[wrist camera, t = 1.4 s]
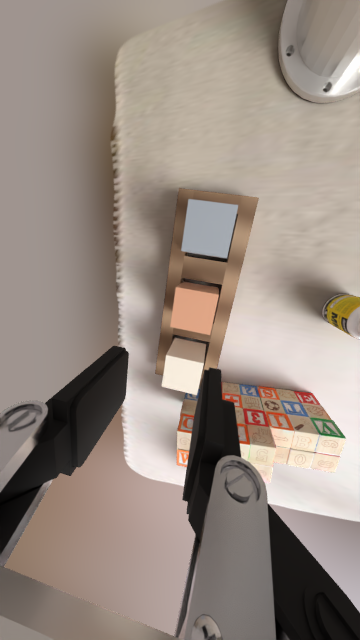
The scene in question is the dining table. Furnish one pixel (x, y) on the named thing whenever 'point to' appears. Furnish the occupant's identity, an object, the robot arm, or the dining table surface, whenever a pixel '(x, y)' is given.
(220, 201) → the button board
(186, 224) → the button slate
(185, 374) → the button cream
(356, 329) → the supplement bottle
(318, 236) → the dining table surface
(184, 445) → the stack of blocks
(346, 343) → the dining table surface
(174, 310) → the peach block
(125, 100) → the dining table surface
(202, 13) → the dining table surface
